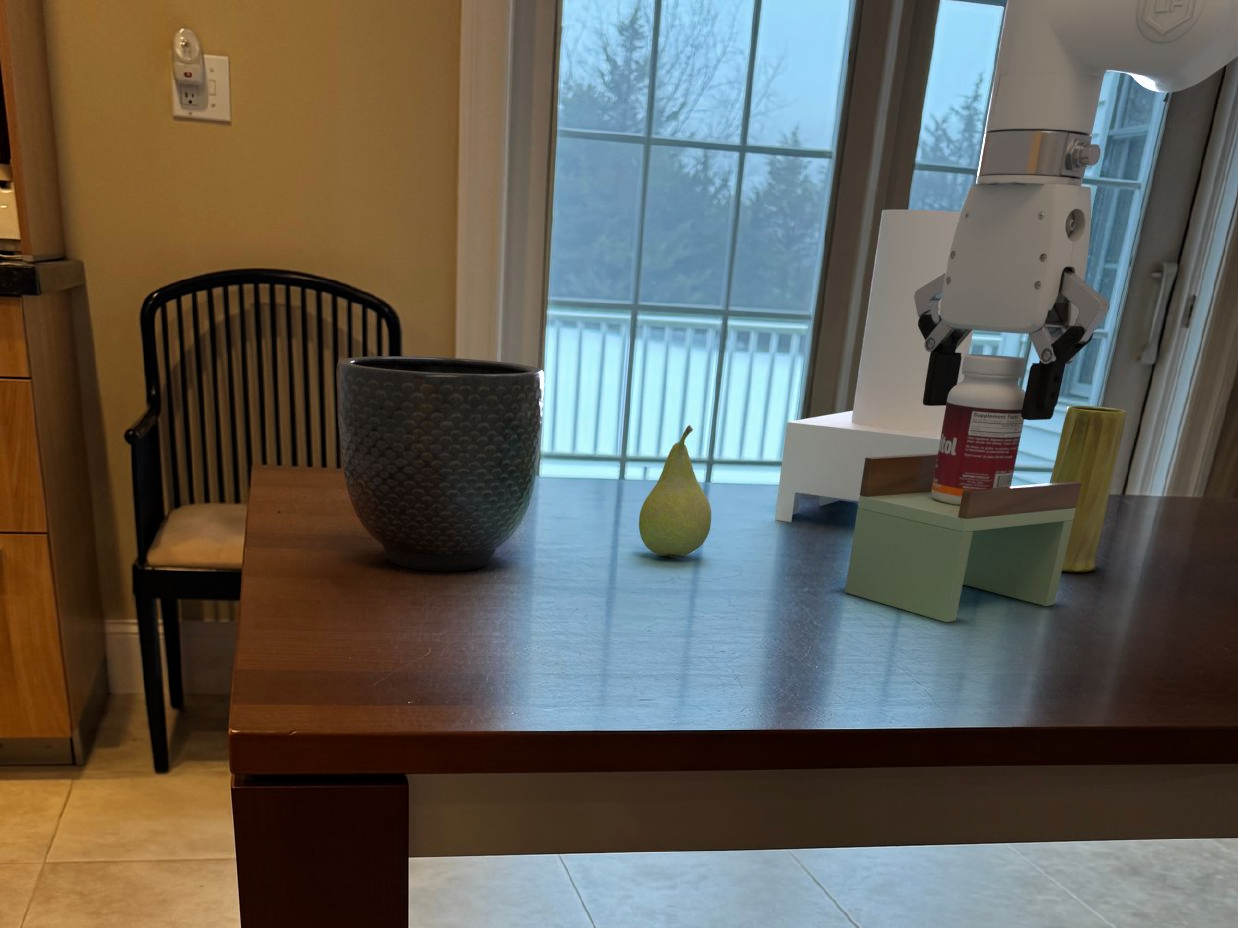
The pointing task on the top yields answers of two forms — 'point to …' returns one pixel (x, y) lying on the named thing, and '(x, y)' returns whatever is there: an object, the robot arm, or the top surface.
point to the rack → (955, 539)
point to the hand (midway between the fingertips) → (985, 411)
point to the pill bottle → (980, 428)
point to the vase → (1088, 475)
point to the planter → (439, 454)
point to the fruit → (675, 507)
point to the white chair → (878, 372)
